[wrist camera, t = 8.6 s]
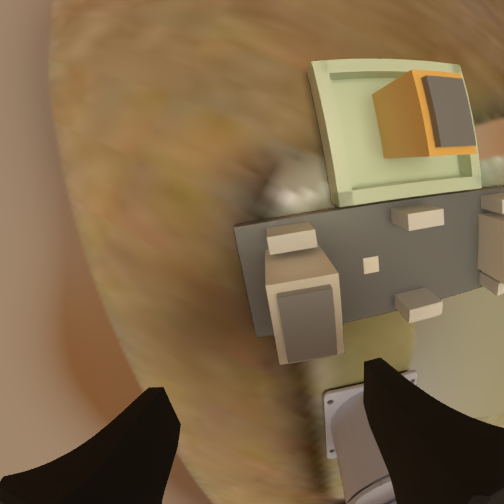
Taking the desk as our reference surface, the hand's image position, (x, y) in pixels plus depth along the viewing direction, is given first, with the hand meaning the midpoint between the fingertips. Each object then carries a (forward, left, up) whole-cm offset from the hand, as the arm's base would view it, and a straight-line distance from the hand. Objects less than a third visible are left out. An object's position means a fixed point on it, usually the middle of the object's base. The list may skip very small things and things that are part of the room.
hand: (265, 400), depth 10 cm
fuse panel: (+1, -10, -10) cm, 14 cm away
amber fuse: (+9, -10, -9) cm, 17 cm away
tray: (+9, -10, -10) cm, 17 cm away
